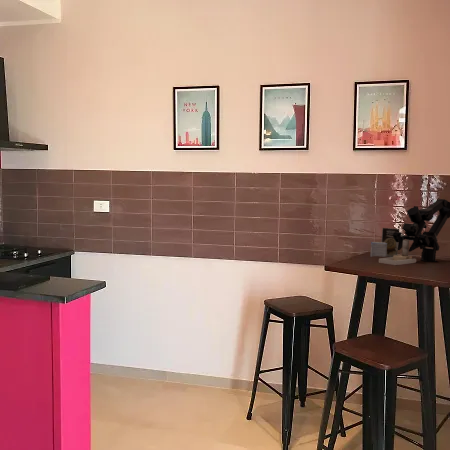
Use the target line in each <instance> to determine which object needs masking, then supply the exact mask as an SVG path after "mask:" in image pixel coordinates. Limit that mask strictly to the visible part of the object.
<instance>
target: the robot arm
mask: <svg viewBox="0 0 450 450" xmlns="http://www.w3.org/2000/svg"><path fill="white" fill-rule="evenodd" d="M406 213H407V215H408V218H409V221H410V222H412V223H406V222H404V223H403V225H402V228H401V229H402V230H403V231H404V234H403V233H402V232H401V231H399V232H394V233H393V237H394V239H395V241H396V242H398V251H400V250H402V246H403V240H409V242H411V241H412V243H411V245H410V247H409V249H408V253H411V252H413V251H414V250H416V249H420V250H422V251H421V255H420V256H421V257H420V261H423V262H429V263H430V262H431V263H433V262H435V263H436V262H438V260H436V259H437V258H436V257H437V255H436V254H437V252H438V251H439V250H440V245H439V242H438V235H439V233H440V232H441V230H442V228H443V227H444V226H445V224H446V222H447V220H448V219H450V201H449V200H447V199H446V198H438V199H436V201H434V202H433V203H432V204H430V205H428V206H427V207H426V208H425V207H424V208H421V209H419V207H418V206H416V205H414V206H413V207H411V208H409V209H408V210H406ZM436 213H439V214H438V216H437V218H436V219H435V221H434V222H433V224H432V225H431V227H430V229H429V230H428V231H423V230H424V229H427V223H426V222H430V221H432V220H433V218H434V215H435V214H436ZM422 231H423V232H422Z"/></svg>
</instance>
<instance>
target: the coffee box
mask: <svg viewBox="0 0 450 450" xmlns="http://www.w3.org/2000/svg"><path fill="white" fill-rule="evenodd" d="M381 229H382V230H381V239H380V242H384V243H387V251H386V258H390V257H393V256H395V255H399V252H398V251H399V250H398V243H399V242H396V241H395V239H394V237H393V233H394V232H400V229H399V228H390V227H382V228H381Z"/></svg>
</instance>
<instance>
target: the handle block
mask: <svg viewBox="0 0 450 450" xmlns="http://www.w3.org/2000/svg"><path fill="white" fill-rule="evenodd" d="M409 245H410V240H406V239H405V240H403V246H402V248H401V250H402V251H401V254H398V255H395V256H393V261H398V260H406V259H413V256H411V255H409V249H410V247H409Z"/></svg>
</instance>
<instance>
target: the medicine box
mask: <svg viewBox="0 0 450 450" xmlns="http://www.w3.org/2000/svg"><path fill="white" fill-rule="evenodd" d="M386 251H387V243H384V242H381V241H370V253H369V254H370V256H369V257H370V258H372V257H382V258H387V256H386Z"/></svg>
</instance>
